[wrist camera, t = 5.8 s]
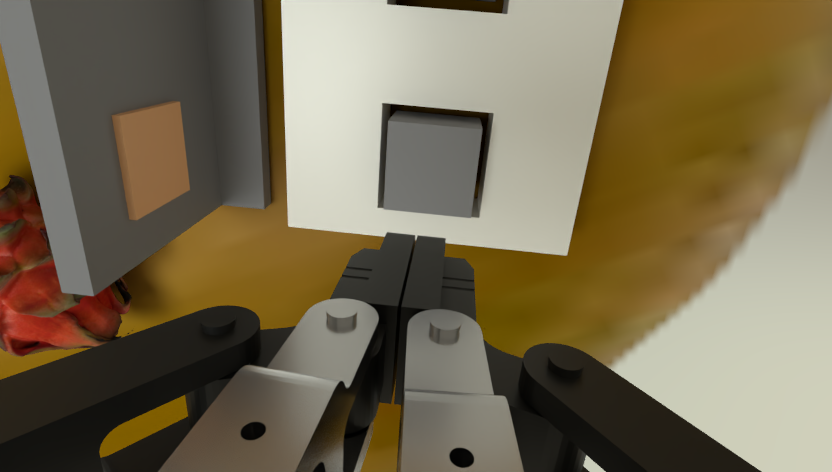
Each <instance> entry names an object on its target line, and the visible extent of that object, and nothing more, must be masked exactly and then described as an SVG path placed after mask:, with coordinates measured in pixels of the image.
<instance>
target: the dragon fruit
mask: <svg viewBox="0 0 832 472" xmlns="http://www.w3.org/2000/svg"><path fill="white" fill-rule="evenodd" d="M9 177H10V178H11V179H10V181H9V184H8V185H7V186H5V187H4V188H2V189H1V190H0V348H2V349H3V350H4V351H8V352H9V353H10V354H11V355H14V356H21V357H22V356H25V355H29V354H35V353H38V352H43V351H48V350H56V349H64V350H67V349H73V348H93V347H96V346H99V345H102V344H105V343H108V342H111V341H114V340H117V339H119V338H121V337H122V336H120V337H115V336H116V335H117V334H118V329H119V327H120V324H121V323H122V320H121V316H120V314H125V313H127V312H128V311H129V308H130V302H131V295H130V294H129V293H128V292H127V289H128V286H127V284H126V283H125V281H124V279H123V278H122V277H120V278H119V279H120V281H121V282H118V281H117V280H116V281H115V284H116V286H117V288H118V290H119V291H120V293H121V295H122V296H123V298H124V301H125V304H122V303H120V302H119V301H118V300H117V299H116V297H115V295H114V293H113V292H112V289H111V286H110V285H109V286H108V287H106V288H105V289H103V290H102V291H101V292H99V293H98V294H97V295H95V296H87V295H79V294H70V293H62V291H61V287H60V283H59V279H58V274H57V270H56V266H55V262H54V258H53V254H52V250H51V246H50V242H49V238H48V234H47V230H46V226H45V222H44V218H43V214H42V209H41V207H39V206H38V205H37V203H36V200H35V195H34V191H33V189H32V187H31V186H30V185H29V183H28V182H27V181H26V180H25V179H23V178H22V177H19V176H14V175H9ZM132 331H133V330H132ZM128 334H129V333H128Z"/></svg>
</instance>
